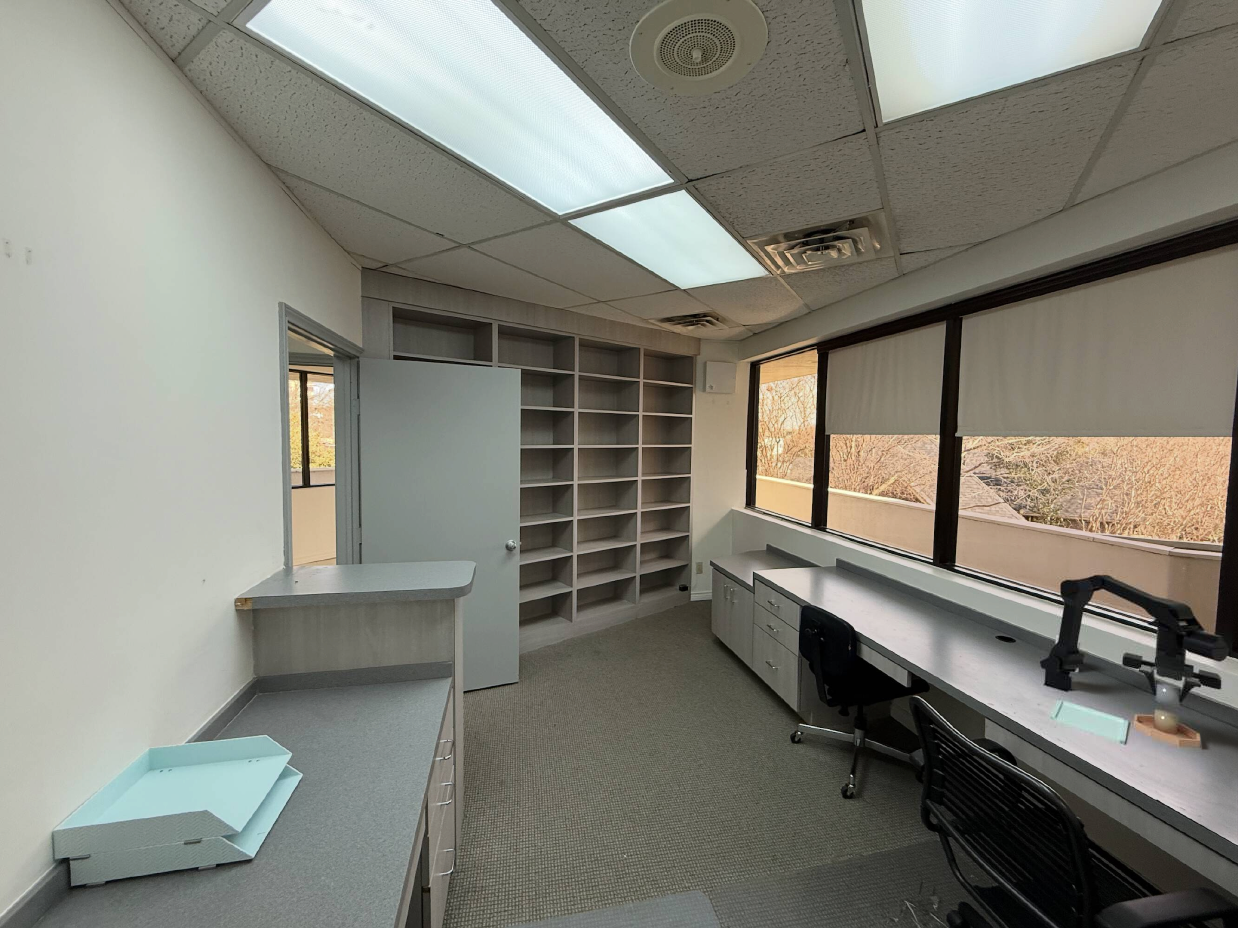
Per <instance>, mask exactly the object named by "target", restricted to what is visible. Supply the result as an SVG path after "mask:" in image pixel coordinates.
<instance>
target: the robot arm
mask: <svg viewBox="0 0 1238 928" xmlns="http://www.w3.org/2000/svg"><path fill="white" fill-rule="evenodd" d="M1059 587H1060V589H1059V593H1060V596H1061V599H1062V601H1063V602H1064V603H1063V611H1062V617H1061V622H1060V627H1059V633H1058V635H1059V639H1058V642H1057V643H1056V642H1055V644H1054V645H1053V646H1052V647H1051V649H1050V651H1049V654H1048V656H1047V657H1046V658H1044V659H1041V660H1040V661H1039V664H1040V668H1041V669H1044V670H1045V671H1044V682H1043V686H1046V687H1048V688H1052V689H1055V690H1059V691H1062V692H1066V693H1069V692H1070V691H1072V689H1073V676H1072V675H1071V673H1073V672H1075V671H1076V669H1077V668H1081V666H1082V665H1084V658H1085V657H1086V656H1085V653H1084V652H1081V650H1080V651H1079V649H1078V647H1077V644H1078V641H1079V639H1080V631H1081V627H1082V620H1083V615H1084V610H1085V607H1086V606H1087V605H1088V604H1089V602H1090V601H1092V598H1093V596H1094V594H1095V592H1099V591H1101V590H1104V591H1105V592H1108V593H1110V594H1113V595H1115V596H1117V597H1119V598H1121V599H1123V600H1125V601H1127V602H1129V603H1132V604H1134V605H1136V606H1138V607H1140V608H1141V609H1143V610H1145V612H1146V613H1147V614H1148V615H1149V616H1150V617H1153V618H1154V620H1153V621H1149V622H1147V626H1150V627H1154V628H1156V641H1155V642H1156V643H1155V645H1156V647H1155V657H1154V662H1153V661H1150V660H1146V659H1143V655H1140V654H1139V655H1138V654H1134V653H1131V652H1125V653H1123V655H1122V661H1121V662H1122V663H1121V664H1122V666H1123V667H1127V668H1129V669H1130V668H1131V669H1134V670H1138V672H1139V673H1140V674H1143V675H1144V676H1145V677H1146V679H1147V681H1148V683H1149V686H1150V688H1151V689H1150V690H1151V692H1152V694H1153V696H1155V697H1156V683H1157V682H1156V675H1157V676H1159V677H1161V678H1168V679H1171V680H1174V681H1177V682H1182V681H1183V683H1182V687H1181V688H1180V703H1181V704H1182V703H1183V701H1184V700H1185V699H1186V697H1187V695H1188V694H1189V693H1190V691H1192V690H1193V689H1194V688H1202V686H1204V687H1206V688H1210V689H1211V688H1212V689H1215V690H1222V678H1221V676H1220V675H1219V674H1218V673H1215V672H1210V671H1206V670H1202V669H1198V672H1195V671H1194V668H1195V666H1194V665H1192V664H1188V663H1186V661H1187V660H1186V657H1187V652H1188V653H1191V654H1193V655H1197V656H1200V657H1202V658H1206V659H1209V660H1212V661H1215V662H1224V661H1225V659H1227V657H1228V656H1229V651H1230V648H1229V647H1228V645H1227V643H1226V641H1224V637H1223V636H1222V635H1219V634H1214V633H1213V634H1212V633H1209V632H1206V631H1205V628H1204V627H1203V626H1202V624H1201V623H1200V621H1198V618H1196V616H1195V615H1194V613H1193V610H1192V608H1191V607H1190V606H1189V605H1187V604H1185V603H1183V602H1181V601H1180V602H1179V601H1177V600H1174V599H1173V600H1172V599H1169V598H1165V597H1164V598H1163V597H1161V596H1160V597H1159V596H1156V595H1153V594H1150V593H1148V592H1146V591H1143V590H1141V589H1139V588H1137V587H1134V586H1132V585H1129V584H1127V583H1126V582H1123V581H1120V580H1118V579H1116V578H1114V577H1112V576H1111V575H1108V574H1094V575H1091V576H1089V577H1085V578H1084V577H1083V578H1079V579H1076V578H1075V579H1065V580H1062V581H1061V583H1060V586H1059ZM1155 670H1156V672H1155ZM1155 673H1156V675H1155ZM1183 678H1184V679H1183Z"/></svg>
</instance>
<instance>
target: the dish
mask: <svg viewBox="0 0 1238 928" xmlns="http://www.w3.org/2000/svg"><path fill="white" fill-rule="evenodd" d="M1154 716H1155V714H1137V713H1134V718H1133V726H1132V727H1133V728H1135V729H1136V730H1138V731H1139V732H1141V733H1143V734H1145V735H1147V736H1149V737H1150V738H1152V739H1155V740H1158V741H1162V742H1165V743H1168V744H1171V745H1174V746H1178V747H1185V748H1186V747H1187V748H1201V747H1200V745H1201V734H1200V733H1199V732H1197V731H1196V730H1194V729H1192V728H1190V727H1188V726H1186V725H1184V724H1182V723H1180V722H1178V727H1177V734H1176V735H1172V734H1167V733H1164V732H1161V731H1159V730H1157V729H1155V728H1154Z"/></svg>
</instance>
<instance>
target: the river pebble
mask: <svg viewBox="0 0 1238 928" xmlns="http://www.w3.org/2000/svg"><path fill="white" fill-rule="evenodd" d="M1178 723H1179V716H1178V715H1177V714H1175V713H1174V712H1171V711H1168V710H1165V709H1154V728H1155V729H1157V730H1159V731H1161V732H1164V733H1167V734H1172V735H1176V734H1177V727H1178Z"/></svg>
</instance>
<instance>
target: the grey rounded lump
mask: <svg viewBox="0 0 1238 928" xmlns="http://www.w3.org/2000/svg"><path fill="white" fill-rule="evenodd" d="M1155 683H1156V696H1155V698H1154V699H1155V702H1158V703H1160V704H1161V705H1164V706H1166V707H1167V706H1168V707H1171V708H1180V693H1181V688H1180V687H1179V686H1177V685H1174V684H1171V683H1168V682H1167V683H1166V682H1162V681H1157V682H1155Z"/></svg>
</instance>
